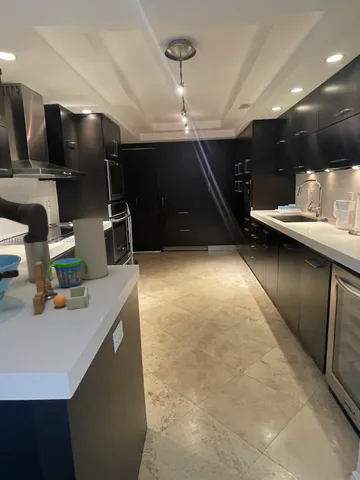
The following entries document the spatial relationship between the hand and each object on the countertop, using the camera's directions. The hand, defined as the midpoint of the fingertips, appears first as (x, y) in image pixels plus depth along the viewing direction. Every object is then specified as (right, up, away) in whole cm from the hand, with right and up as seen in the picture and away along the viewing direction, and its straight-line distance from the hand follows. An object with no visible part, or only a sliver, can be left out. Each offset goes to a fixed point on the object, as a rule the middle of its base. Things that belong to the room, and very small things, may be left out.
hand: (18, 273), depth 96 cm
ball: (+14, -9, 0) cm, 16 cm away
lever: (+7, -11, +3) cm, 13 cm away
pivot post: (+5, -10, +10) cm, 15 cm away
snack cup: (+8, -8, +23) cm, 26 cm away
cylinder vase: (+14, -5, +35) cm, 38 cm away
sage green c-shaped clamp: (+19, -10, +3) cm, 21 cm away
